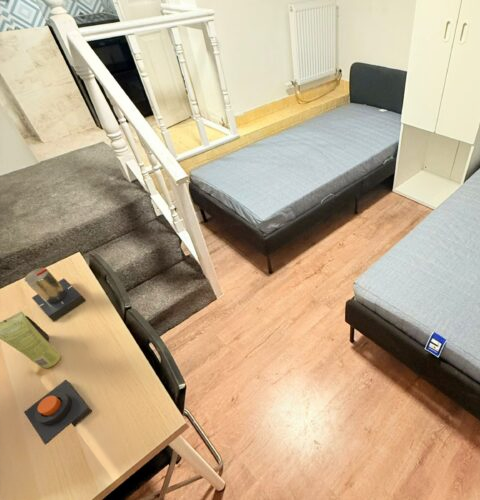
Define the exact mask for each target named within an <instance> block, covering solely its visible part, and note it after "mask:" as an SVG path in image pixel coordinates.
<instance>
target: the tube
mask: <svg viewBox="0 0 480 500" xmlns="http://www.w3.org/2000/svg"><path fill="white" fill-rule="evenodd" d="M26 316H27V315H25V313H24V312H23V311H18V312H17V313H15V314H12V315H11V316H9V317H7V318H5V319H2V320H1V321H0V340H1V341H3V342H4V343H6V344H8V345H9V346H10V347H12V348H14V349H15V350H16V351H18V352H20V353H21V354H22V355H24V356H25V357H27V358H28V359H29V360H31V361H33V362H34V363H35V364H36V365H37V366H39V367H40V368H42V369H50V368H52V367H53V366H55V365H56V364H57V363H58V362H59V361H60V359H61V353H60V352H59V351H58V350H57V349H56V348H55V347H54V346H53V345H52V344H51V343H50V342H49V341H48V342H47V341H46V339H45V338H44V337H43V336H42V335H41V334H40V333H39V332H38V331H37V330H36V329H35V328H34V326H33V325H32V324H31V323H30V322H29V320H28V319H27V318H26Z"/></svg>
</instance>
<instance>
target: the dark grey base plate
mask: <svg viewBox="0 0 480 500" xmlns="http://www.w3.org/2000/svg"><path fill="white" fill-rule="evenodd" d="M48 396H55V397H57V398H58V399H60V400H61V407H60V408H59V410H58V411H57V412H55V413H54V414H53V415H50V416H45V415H43V414H41V413H40V412H38V409H37V408H38V405H39V403H40V402H41V401H42V400H43V399H44V398H46V397H48ZM91 412H93V410H92V409H91V408H90V406H89V405H88V403H87V402H86V401H85V400H84V399H83V397H82V395H80V393H79V392H78V391H77V390H76V388H75V387H74V386H73V384H71V382H70V381H68V380H67V379H65V380H64V381H62V382H60V384H58V385H57V386H56V387H54V388H53V389H51V390H50V391H48V393H46V394H45V395H44V396H42V397H41V398H40V399H38V400H37V401H36V402H35V403H34V404H32V405H31V406H29V407H28V408H27V409H26V410H24V411H23V413H24V414H25V416H26V417H27V419H28V420H29V422H30V424H31V425H32V427H33V428H34V430H35V431H36V433H37V434H38V436H39V438H40V439H41V440H42V442H43V444H44V445H47V444H48V443H50V442H51V441H52V440H53V439H54V438H55V437H57V436H58V434H60V433H61V432H62V431H64V430H65V429H66V428H67V427H68V426H69V425H72V426H73V427H75V426H76V425H78V424H79V423H80V422H81V421H82V420H84V419H85V418H86V417H87V416H88V415H90V414H91Z"/></svg>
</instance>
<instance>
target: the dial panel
mask: <svg viewBox="0 0 480 500" xmlns="http://www.w3.org/2000/svg"><path fill="white" fill-rule="evenodd" d="M58 282H59V283H60V284H61V285H62V286H63V287H64V289H65V290H66V291H67V294H66V296H65V297H64V298H63V299H62V300H60V301H59V302H56V303H53V304H48V303H46V302H45V301H44V300H43V299H42V298H41V297H40V296H39V295H38V294H37V293H36V294H35V295H34V296H32V297H31V299H32V300H33V301H34V302H35V304H36V305H37V306H38V308H40V309H41V310H42V312H43V313H44V314H45V315H46V316H47V317H48V318H49V320H51V321H52V322H56V321H57V320H59V319H60V318H62V317H63V316H65V315H66V314H68V313H69V312H71V311H73V310H74V309H75V308H77V307H78V306H80V305H81V304H83V303H84V302H86V298H84V296H83V295H82V294H81V293H80V292H79V291H78V290H77V289H76V288H75V287H74V286H73V285H72V284H71V283H70V282H68V281H67V279H65V278H61V279H60V280H58Z"/></svg>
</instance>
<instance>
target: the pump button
mask: <svg viewBox="0 0 480 500" xmlns="http://www.w3.org/2000/svg"><path fill="white" fill-rule="evenodd" d="M60 407H61V400H60V399H58V398H57V397H55V396H48V397H46V398H44V399H43V400H42V401H41V402H40V403H39V405H38V408H37V409H38V412H40V413H41V414H43V415H45V416H50V415H53V414H54V413H55V412H57V411H58V410H59V408H60Z"/></svg>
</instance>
